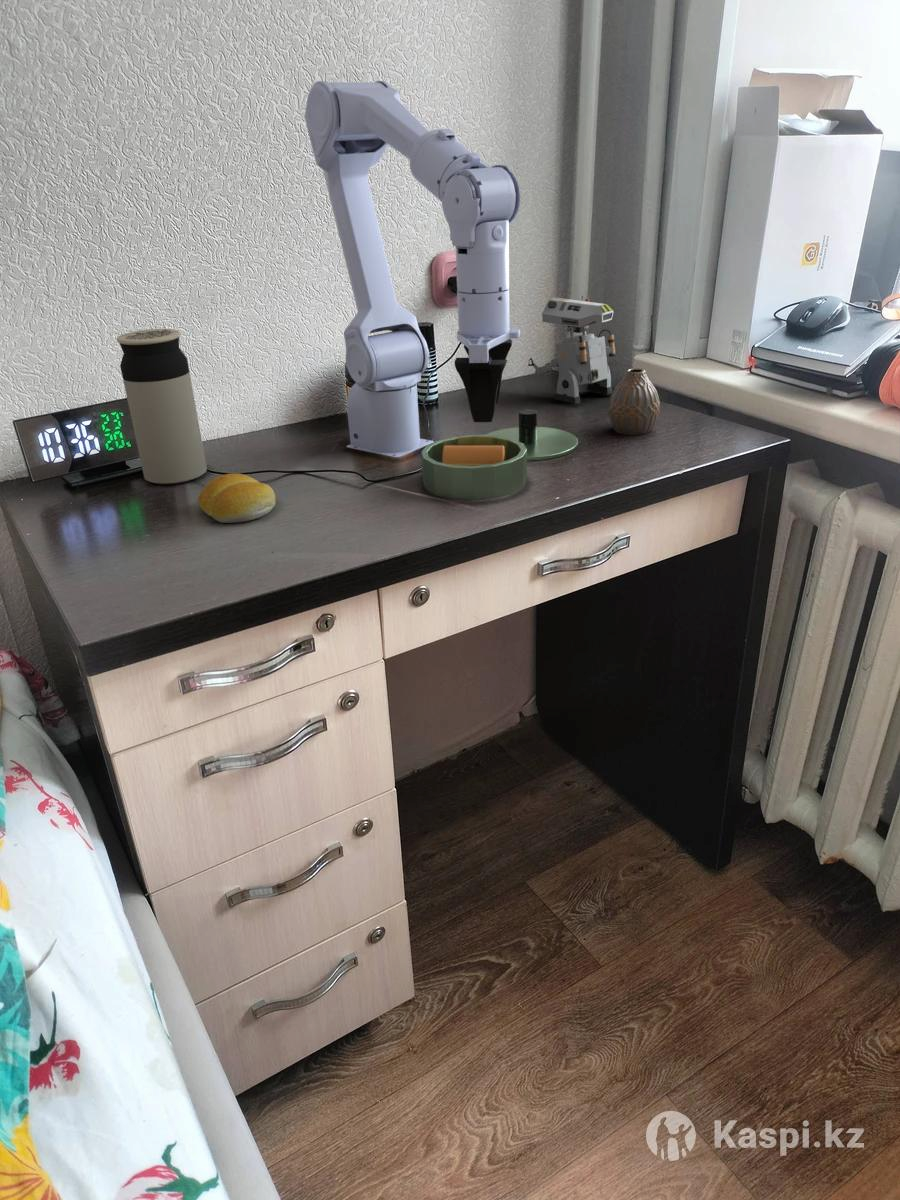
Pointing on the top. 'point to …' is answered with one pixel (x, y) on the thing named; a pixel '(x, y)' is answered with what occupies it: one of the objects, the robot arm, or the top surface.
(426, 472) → the pot
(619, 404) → the vase
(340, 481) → the top surface
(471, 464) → the loaf
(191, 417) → the travel mug
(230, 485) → the bread roll
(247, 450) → the top surface
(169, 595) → the top surface
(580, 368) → the figurine
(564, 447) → the lid
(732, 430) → the top surface
